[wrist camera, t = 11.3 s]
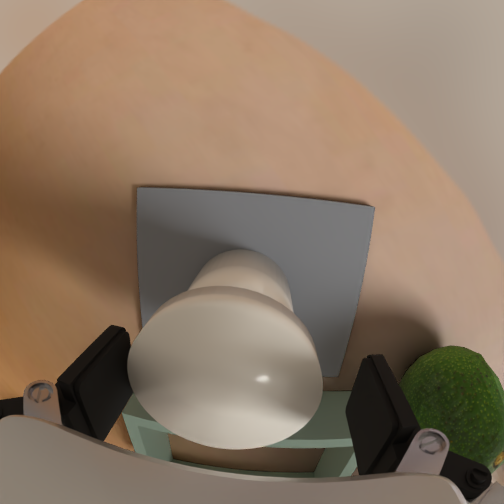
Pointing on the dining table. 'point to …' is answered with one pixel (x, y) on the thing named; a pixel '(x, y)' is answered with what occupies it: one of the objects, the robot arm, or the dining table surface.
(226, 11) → the dining table surface
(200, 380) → the white mushroom shaped cylinder
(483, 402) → the avocado
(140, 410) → the green open box
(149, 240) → the mat
